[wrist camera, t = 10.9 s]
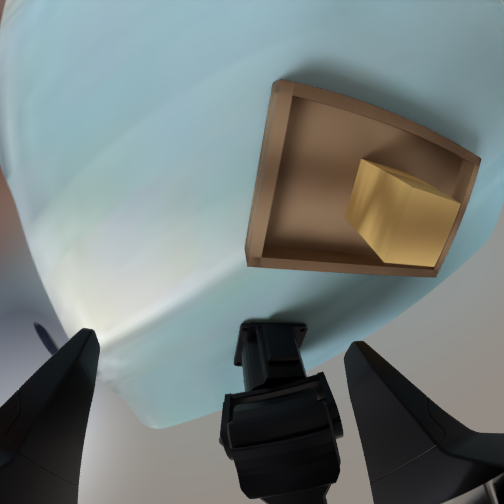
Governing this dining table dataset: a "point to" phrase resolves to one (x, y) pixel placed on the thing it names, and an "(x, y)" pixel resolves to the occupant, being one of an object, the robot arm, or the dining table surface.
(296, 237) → the walnut tray
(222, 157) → the dining table surface
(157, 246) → the dining table surface
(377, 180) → the ochre block
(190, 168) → the dining table surface
